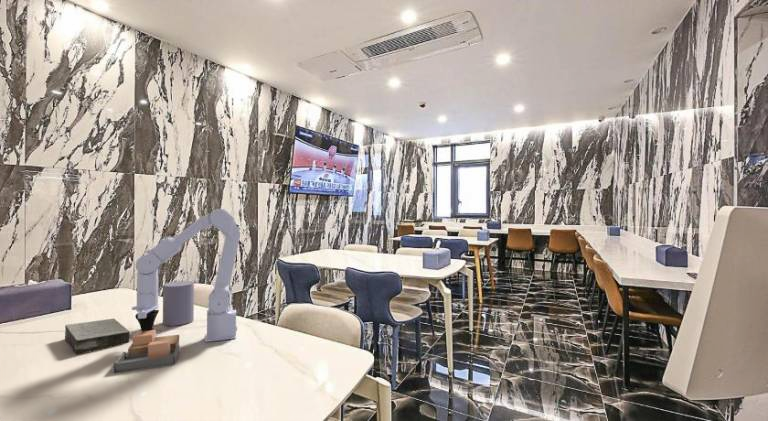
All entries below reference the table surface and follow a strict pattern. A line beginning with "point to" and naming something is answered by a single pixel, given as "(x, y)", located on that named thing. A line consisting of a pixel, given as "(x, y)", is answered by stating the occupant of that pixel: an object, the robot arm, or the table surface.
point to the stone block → (95, 335)
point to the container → (178, 303)
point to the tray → (144, 361)
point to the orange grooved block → (144, 347)
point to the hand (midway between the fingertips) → (147, 334)
